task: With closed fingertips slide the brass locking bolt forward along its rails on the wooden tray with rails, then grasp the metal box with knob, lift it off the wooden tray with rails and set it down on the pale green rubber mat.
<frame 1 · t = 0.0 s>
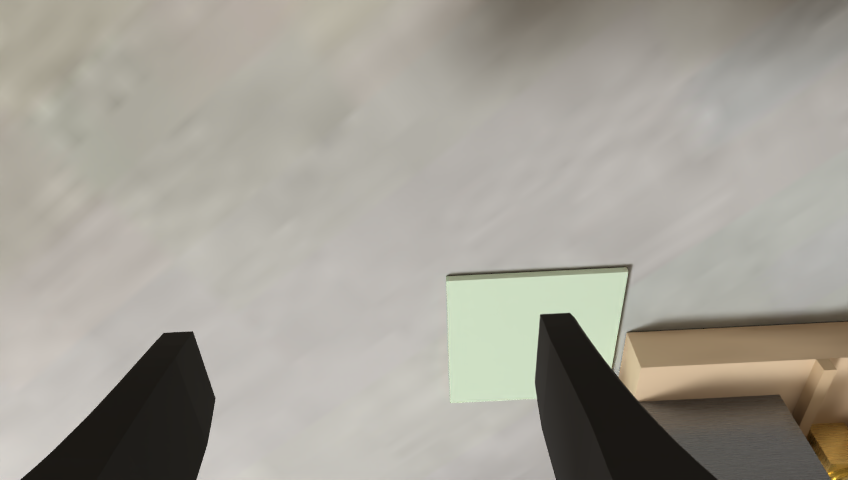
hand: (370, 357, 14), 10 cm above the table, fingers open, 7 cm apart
metal box with knob: (694, 437, 28), point 2 cm above the table, touching wooden tray with rails
wooden tray with rails: (744, 398, 30), on the table
mat: (531, 337, 28), on the table
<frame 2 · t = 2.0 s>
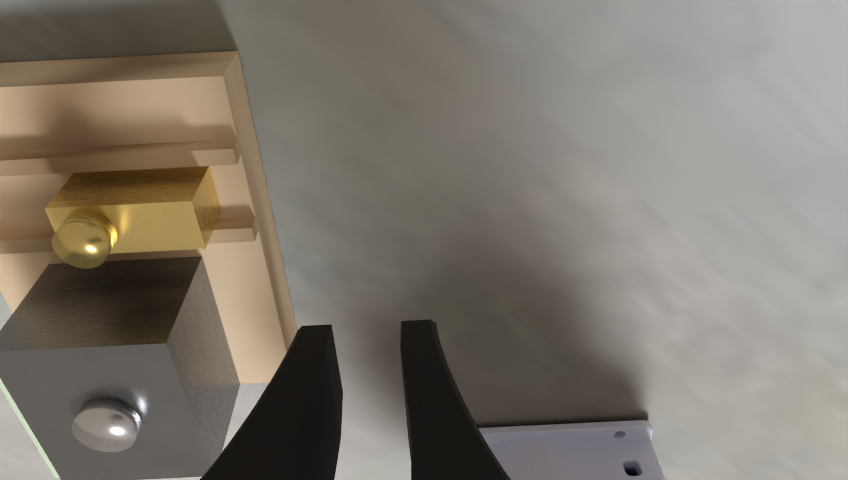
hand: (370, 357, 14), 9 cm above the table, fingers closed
bolt: (134, 217, 19), point 3 cm above the table, slide at 0.0 cm, touching wooden tray with rails
metal box with knob: (151, 328, 23), point 2 cm above the table, touching wooden tray with rails
wooden tray with rails: (145, 225, 23), on the table
mat: (108, 419, 29), on the table
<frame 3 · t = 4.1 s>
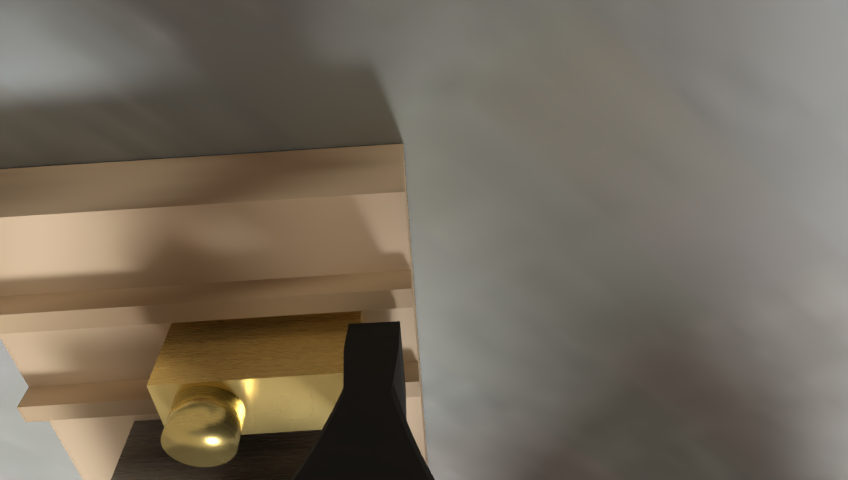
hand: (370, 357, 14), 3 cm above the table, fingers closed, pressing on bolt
bolt: (264, 383, 13), point 3 cm above the table, slide at 0.1 cm, touching gripper, wooden tray with rails
wooden tray with rails: (251, 355, 18), on the table
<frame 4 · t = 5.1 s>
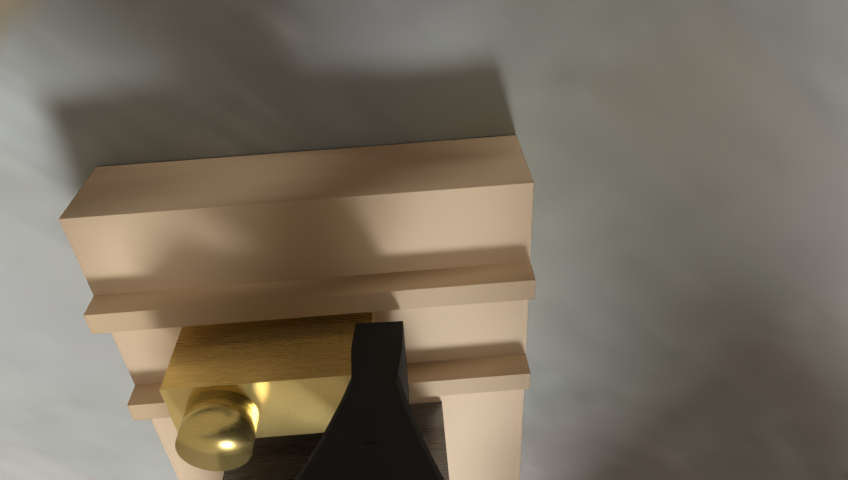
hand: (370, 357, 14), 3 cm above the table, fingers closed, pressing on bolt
bolt: (277, 386, 13), point 3 cm above the table, slide at 2.3 cm, touching gripper, wooden tray with rails
wooden tray with rails: (342, 350, 18), on the table
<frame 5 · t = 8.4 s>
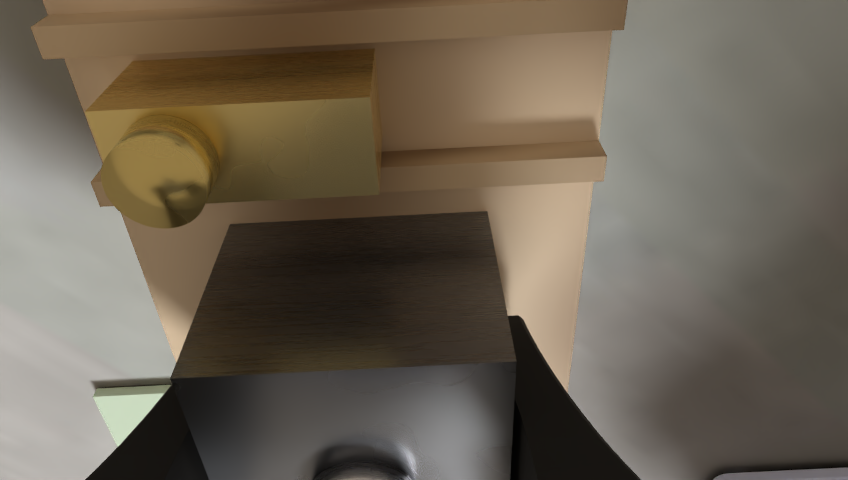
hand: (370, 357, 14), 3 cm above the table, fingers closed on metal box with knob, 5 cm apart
bolt: (246, 136, 10), point 3 cm above the table, slide at 2.9 cm, touching wooden tray with rails
metal box with knob: (372, 331, 14), point 2 cm above the table, touching gripper, wooden tray with rails
wooden tray with rails: (363, 167, 14), on the table
mat: (248, 460, 20), on the table
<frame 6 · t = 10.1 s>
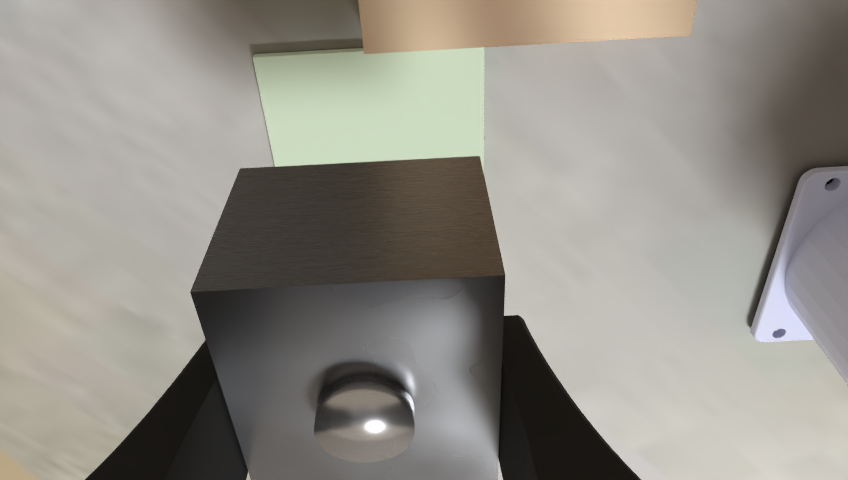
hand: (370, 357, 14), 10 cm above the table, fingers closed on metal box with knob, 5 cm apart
metal box with knob: (372, 275, 15), point 8 cm above the table, touching gripper
mat: (378, 150, 22), on the table
when the fingers open (2 cm above the table, at t = 12.1 s): metal box with knob stays where it is, resting on mat.
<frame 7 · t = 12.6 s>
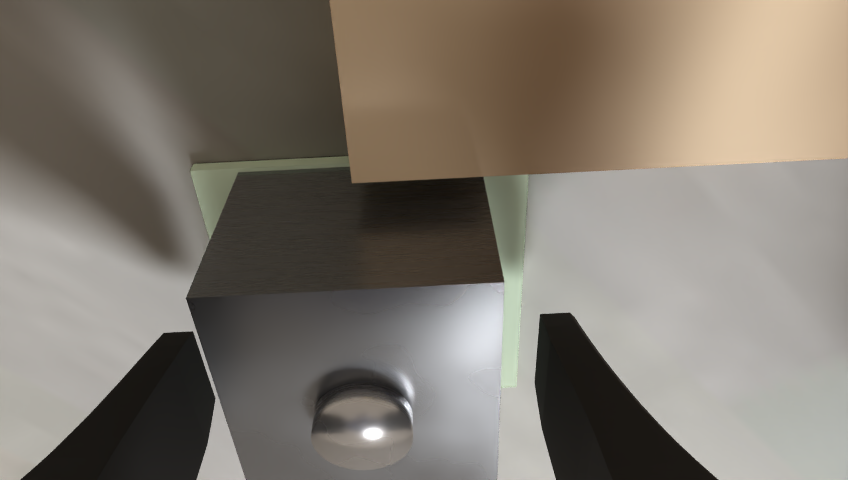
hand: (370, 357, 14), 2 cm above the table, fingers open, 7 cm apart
metal box with knob: (371, 279, 15), resting on mat
mat: (374, 285, 16), on the table
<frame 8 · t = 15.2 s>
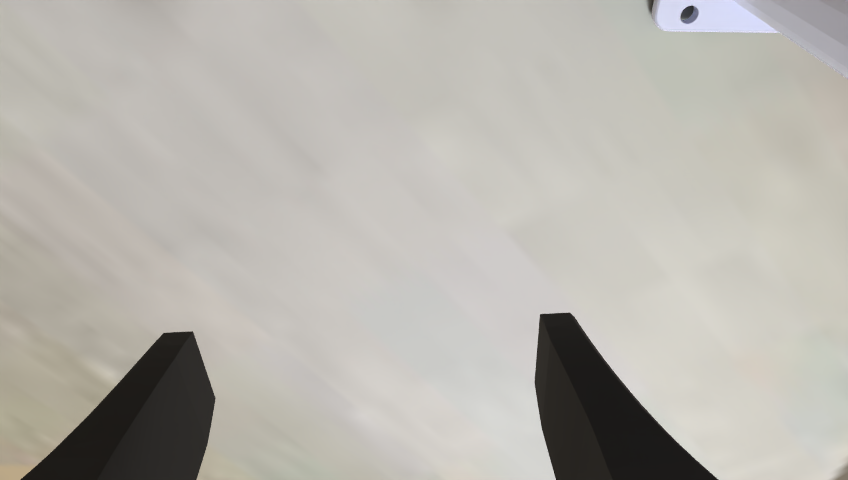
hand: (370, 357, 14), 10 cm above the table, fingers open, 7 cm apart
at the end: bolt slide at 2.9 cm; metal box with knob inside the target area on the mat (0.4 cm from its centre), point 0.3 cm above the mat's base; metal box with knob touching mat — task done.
